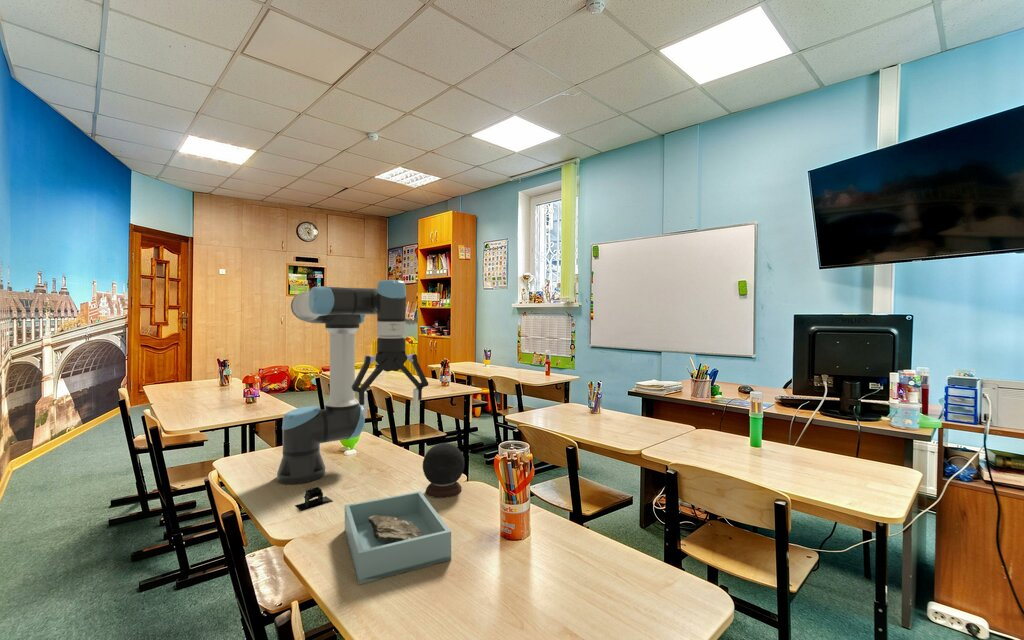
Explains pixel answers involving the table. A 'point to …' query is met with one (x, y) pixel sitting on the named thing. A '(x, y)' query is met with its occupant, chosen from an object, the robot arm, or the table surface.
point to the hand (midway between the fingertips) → (390, 414)
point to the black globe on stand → (443, 470)
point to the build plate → (315, 502)
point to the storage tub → (400, 556)
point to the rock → (393, 529)
